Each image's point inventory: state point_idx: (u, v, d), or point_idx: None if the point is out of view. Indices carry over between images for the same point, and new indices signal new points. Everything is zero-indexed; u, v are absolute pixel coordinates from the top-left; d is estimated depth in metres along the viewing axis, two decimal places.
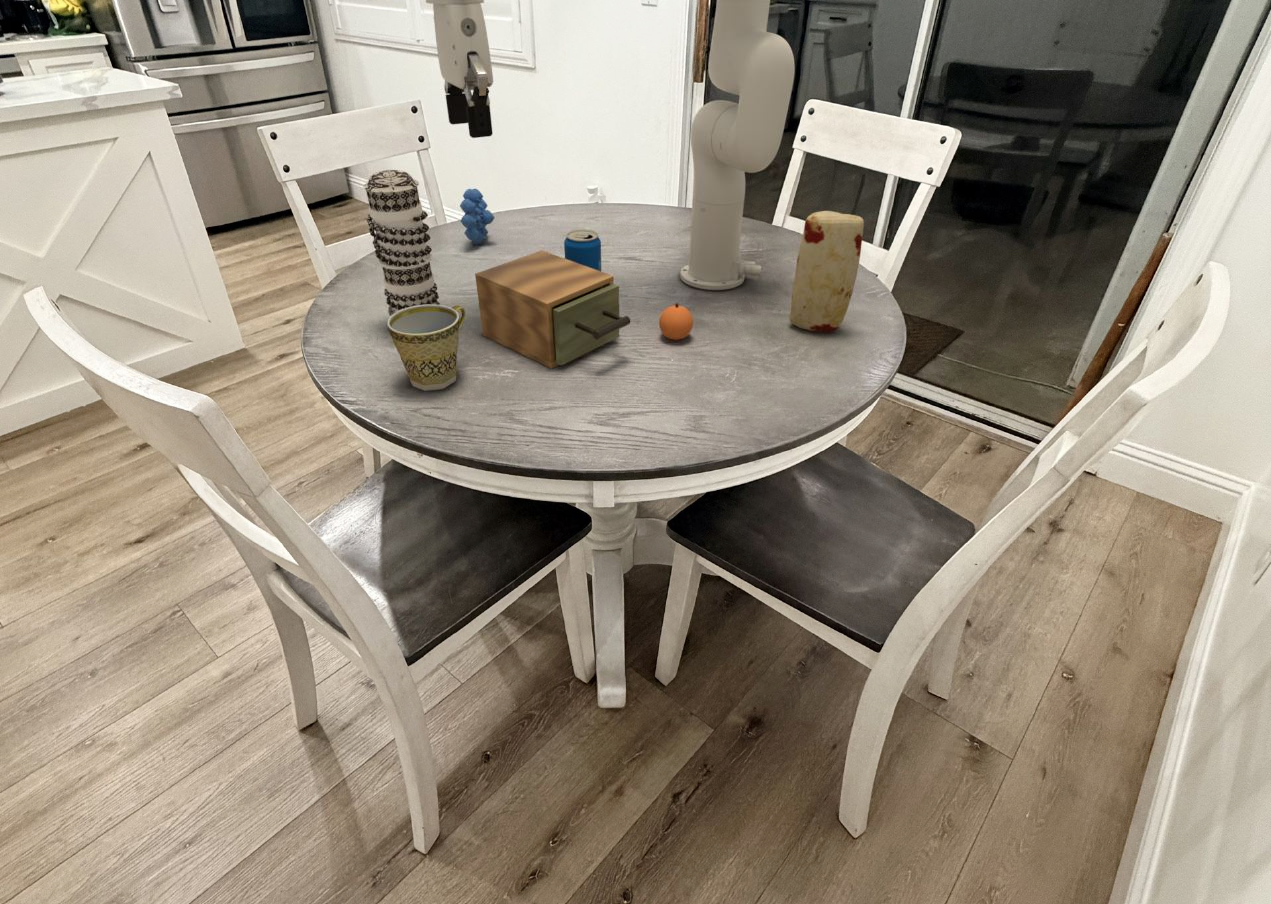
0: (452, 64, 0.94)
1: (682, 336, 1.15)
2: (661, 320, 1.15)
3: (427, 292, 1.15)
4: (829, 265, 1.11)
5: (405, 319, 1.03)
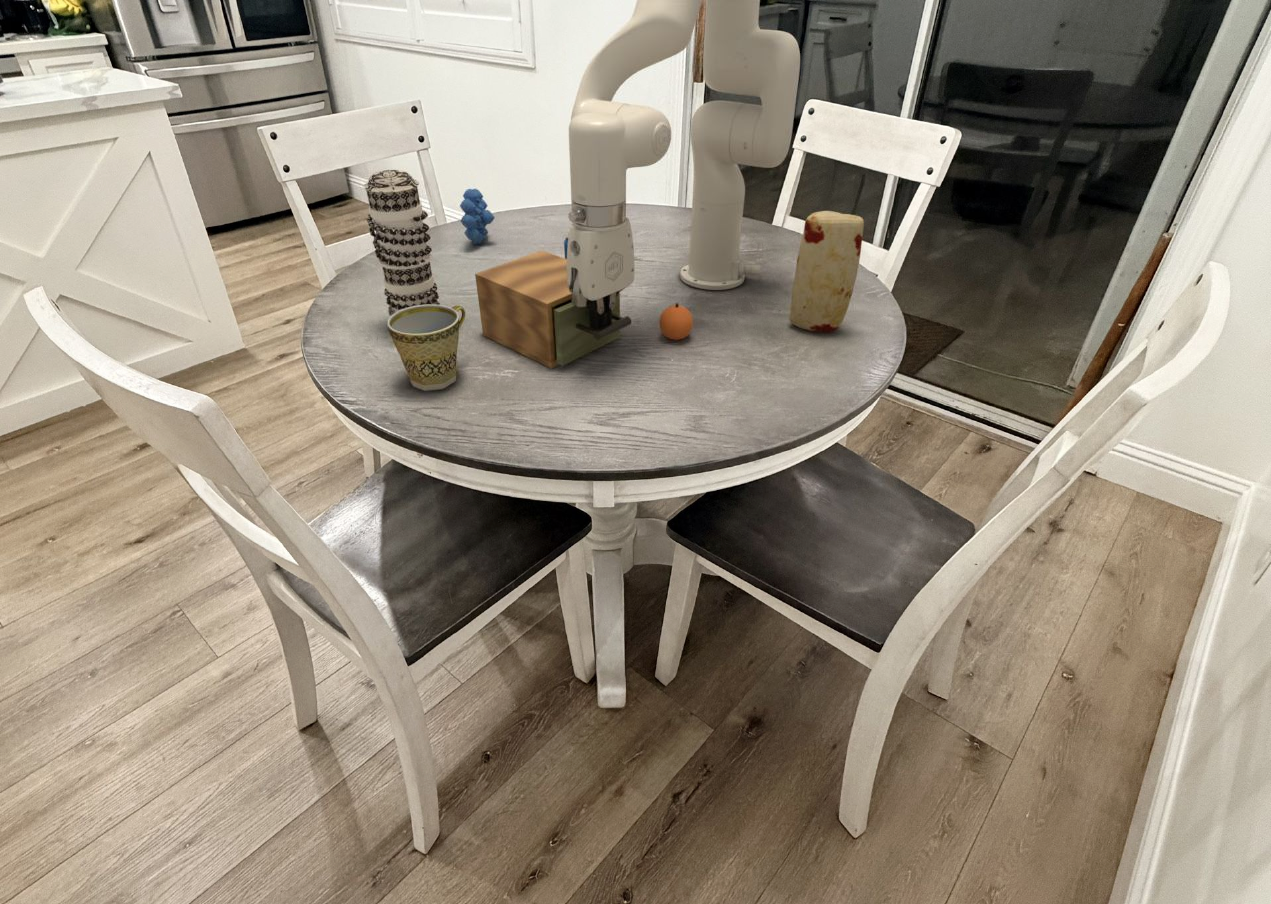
0: None
1: (682, 336, 1.15)
2: (661, 320, 1.15)
3: (427, 292, 1.15)
4: (829, 265, 1.11)
5: (405, 319, 1.03)
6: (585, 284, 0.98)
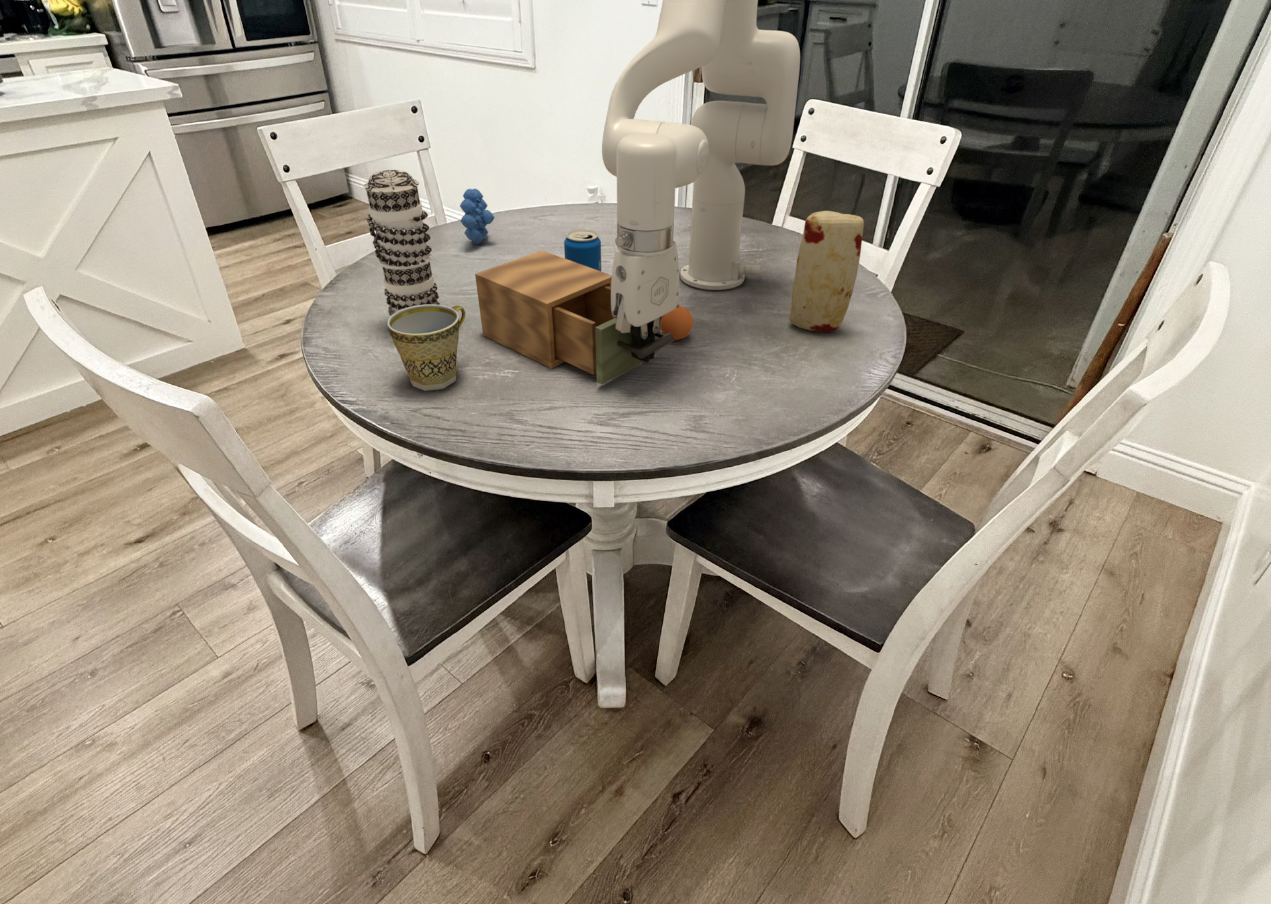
0: None
1: (682, 336, 1.15)
2: (661, 320, 1.15)
3: (427, 292, 1.15)
4: (829, 265, 1.11)
5: (405, 319, 1.03)
6: (631, 310, 0.95)
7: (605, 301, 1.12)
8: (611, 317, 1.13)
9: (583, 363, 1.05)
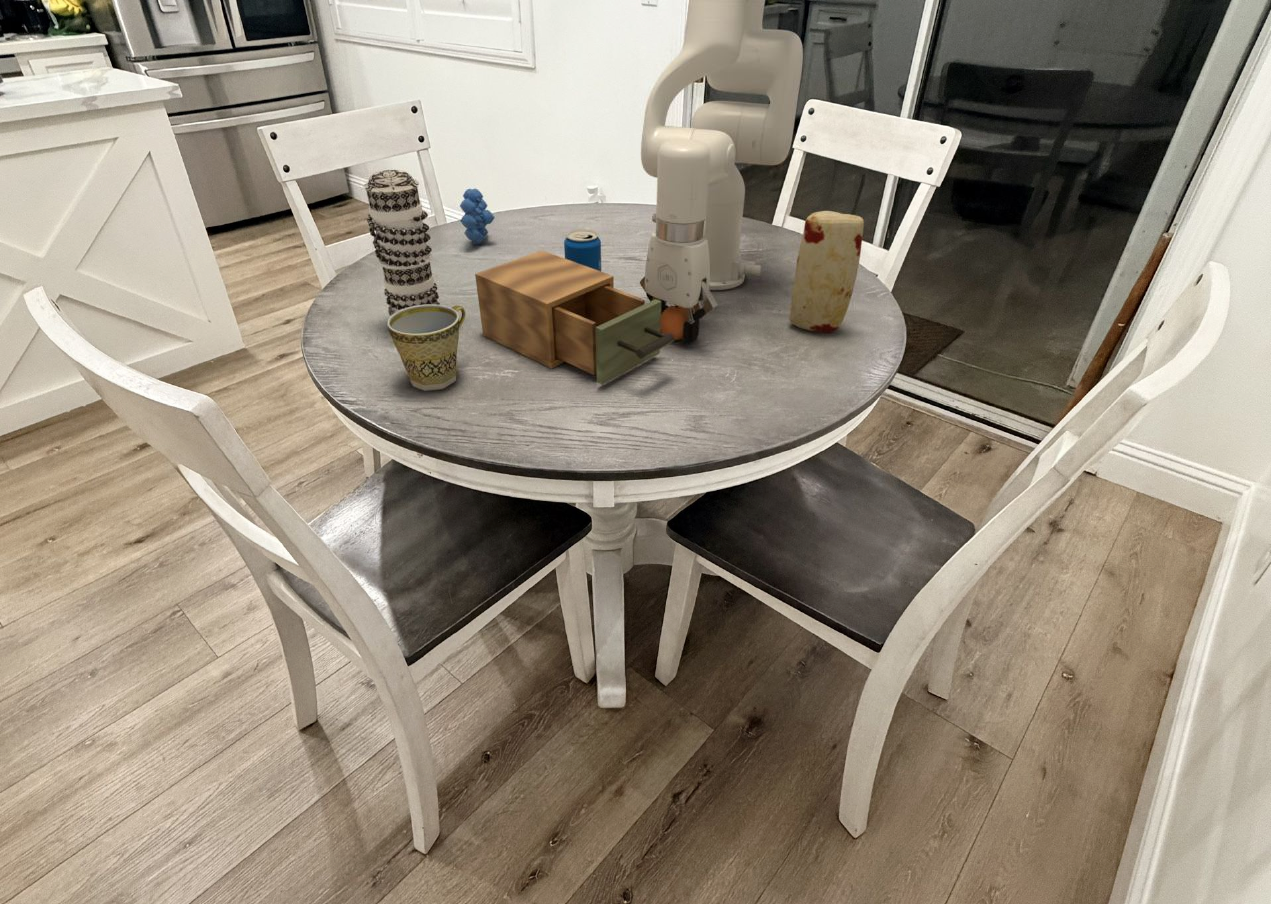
0: None
1: (682, 336, 1.15)
2: (661, 320, 1.15)
3: (427, 292, 1.15)
4: (829, 265, 1.11)
5: (405, 319, 1.03)
6: None
7: (605, 301, 1.12)
8: (611, 317, 1.13)
9: (583, 363, 1.05)
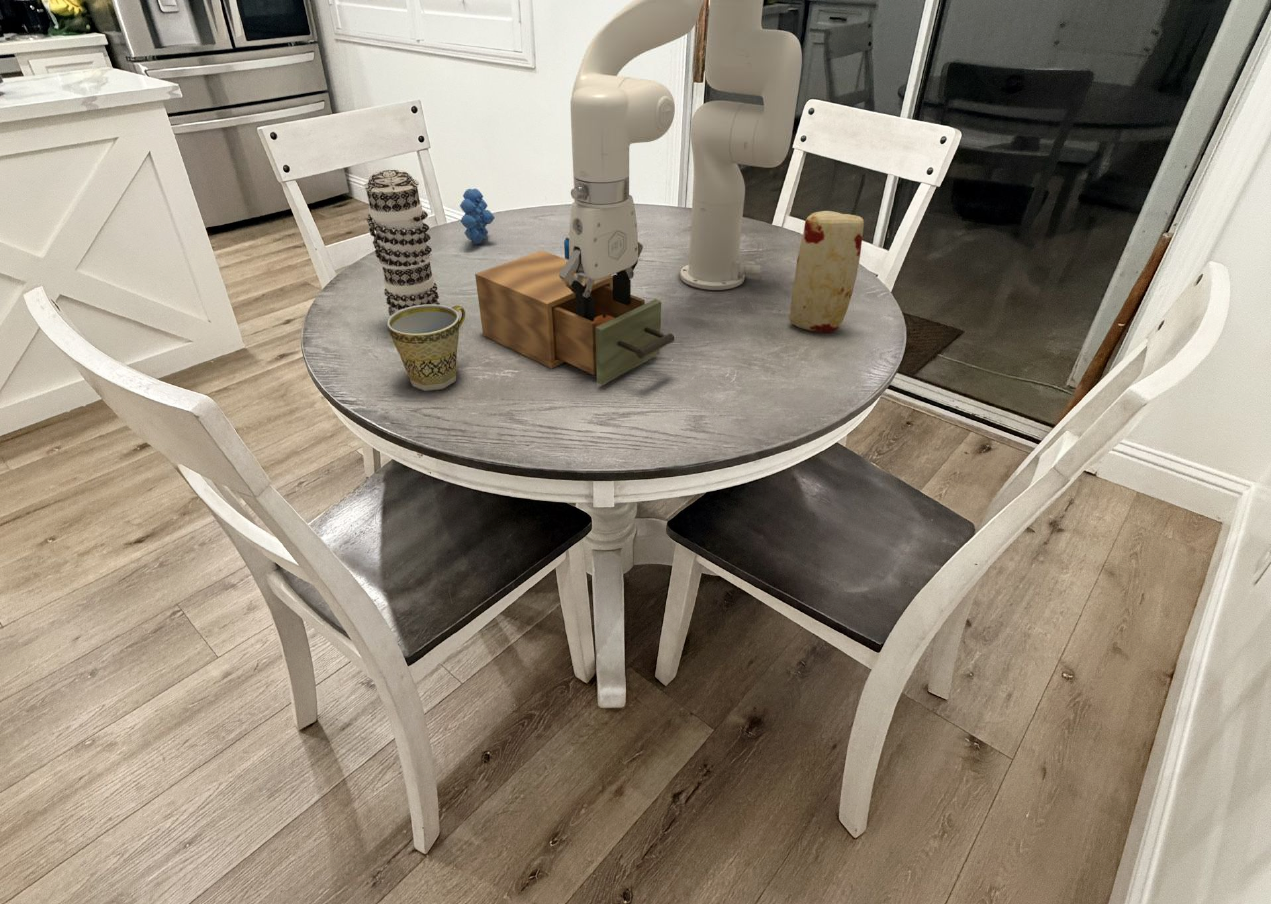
0: None
1: None
2: None
3: (427, 292, 1.15)
4: (829, 265, 1.11)
5: (405, 319, 1.03)
6: (588, 263, 0.96)
7: (605, 301, 1.12)
8: None
9: (583, 363, 1.05)
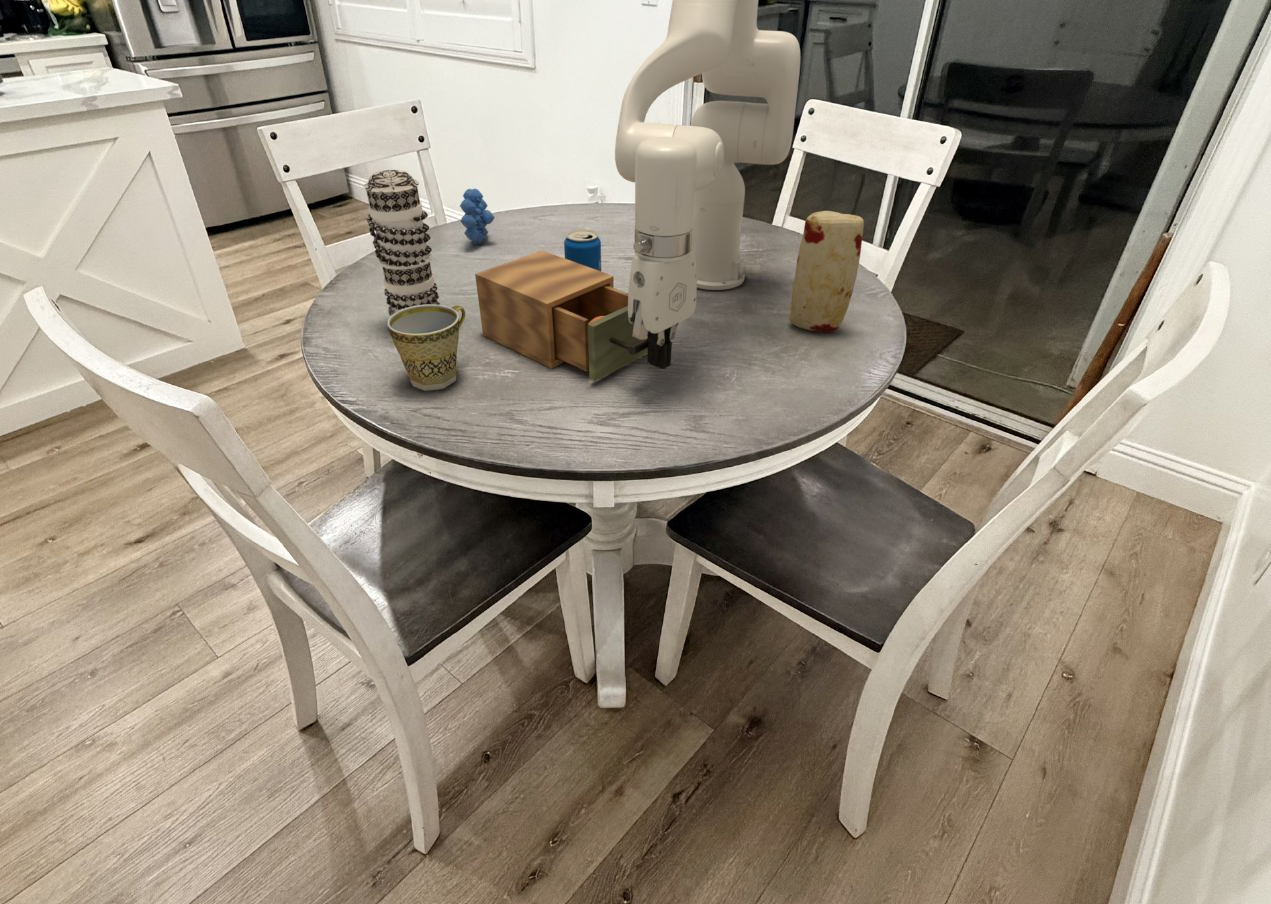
0: None
1: None
2: None
3: (427, 292, 1.15)
4: (829, 265, 1.11)
5: (405, 319, 1.03)
6: (649, 317, 0.93)
7: (598, 298, 1.13)
8: (604, 314, 1.13)
9: (576, 360, 1.06)
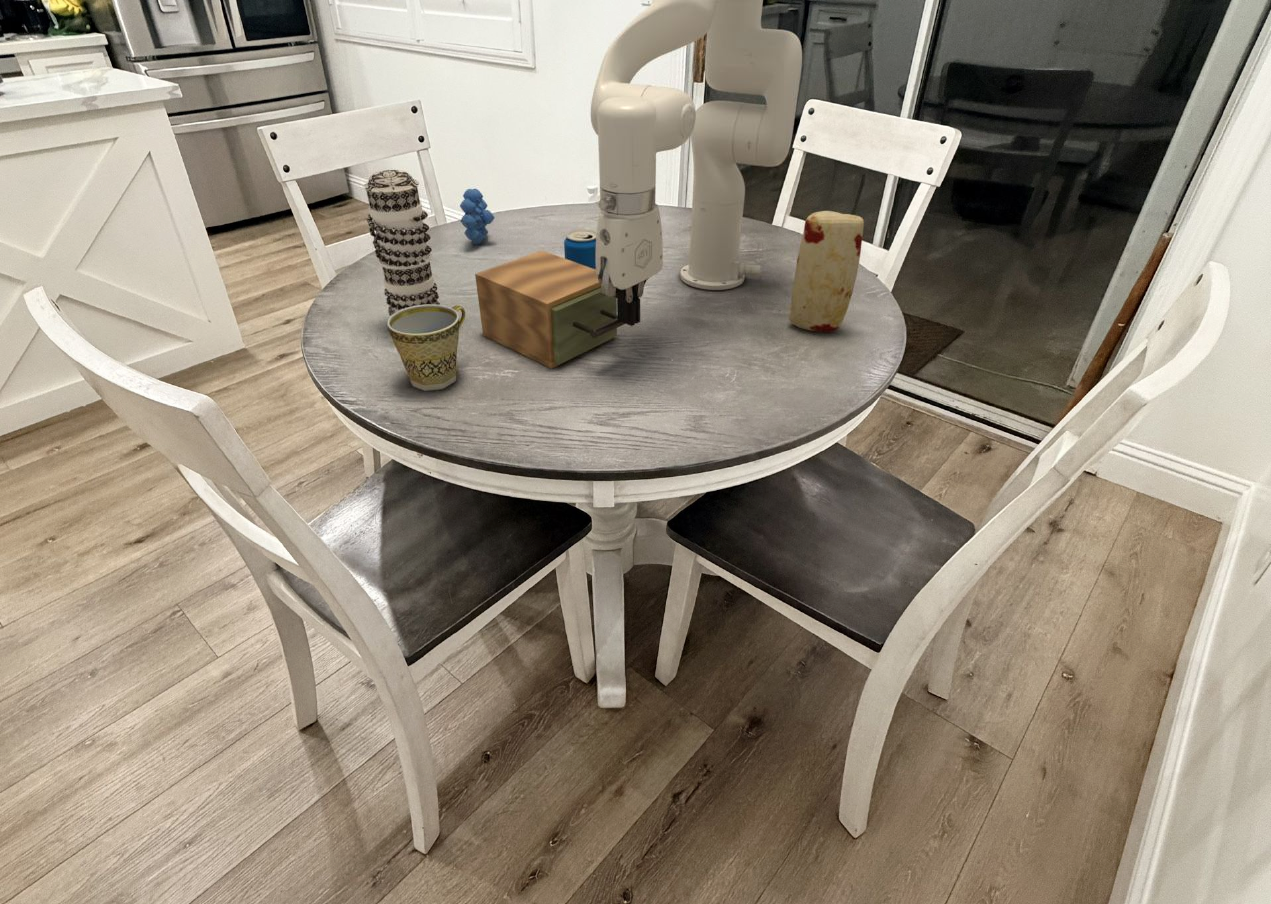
0: None
1: None
2: None
3: (427, 292, 1.15)
4: (829, 265, 1.11)
5: (405, 319, 1.03)
6: (615, 273, 0.96)
7: None
8: None
9: None
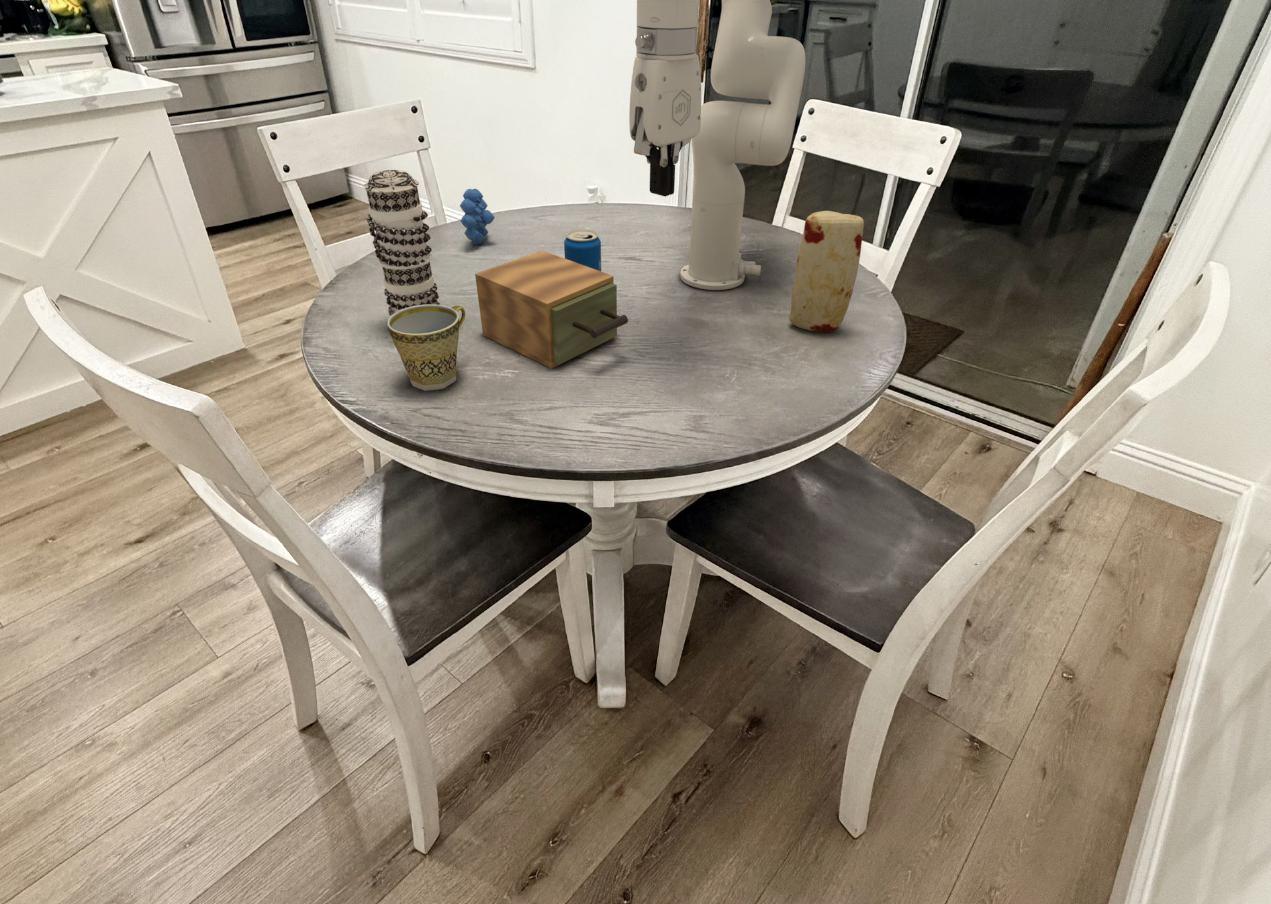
0: None
1: None
2: None
3: (427, 292, 1.15)
4: (829, 265, 1.11)
5: (405, 319, 1.03)
6: (651, 125, 0.89)
7: None
8: None
9: None
